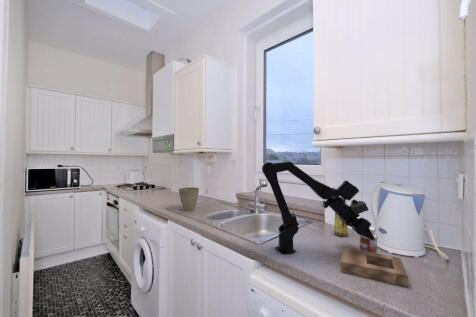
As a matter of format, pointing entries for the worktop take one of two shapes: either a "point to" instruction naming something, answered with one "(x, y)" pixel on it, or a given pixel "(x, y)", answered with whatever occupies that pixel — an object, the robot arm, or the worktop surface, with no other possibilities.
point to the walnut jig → (374, 266)
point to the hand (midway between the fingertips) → (368, 235)
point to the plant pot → (189, 197)
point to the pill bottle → (369, 242)
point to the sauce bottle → (340, 225)
